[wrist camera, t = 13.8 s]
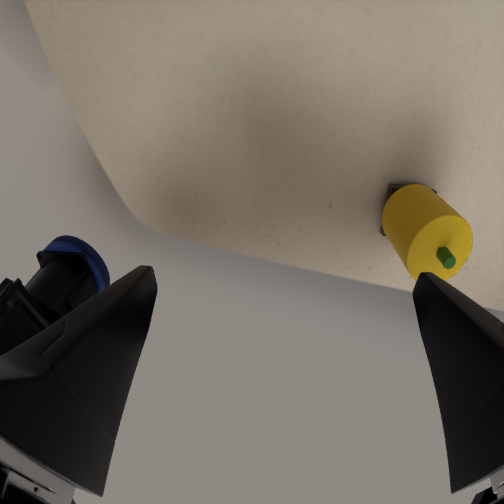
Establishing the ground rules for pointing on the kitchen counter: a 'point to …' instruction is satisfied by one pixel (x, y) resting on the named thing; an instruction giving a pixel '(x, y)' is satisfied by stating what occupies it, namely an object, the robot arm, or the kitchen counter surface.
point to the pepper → (426, 232)
